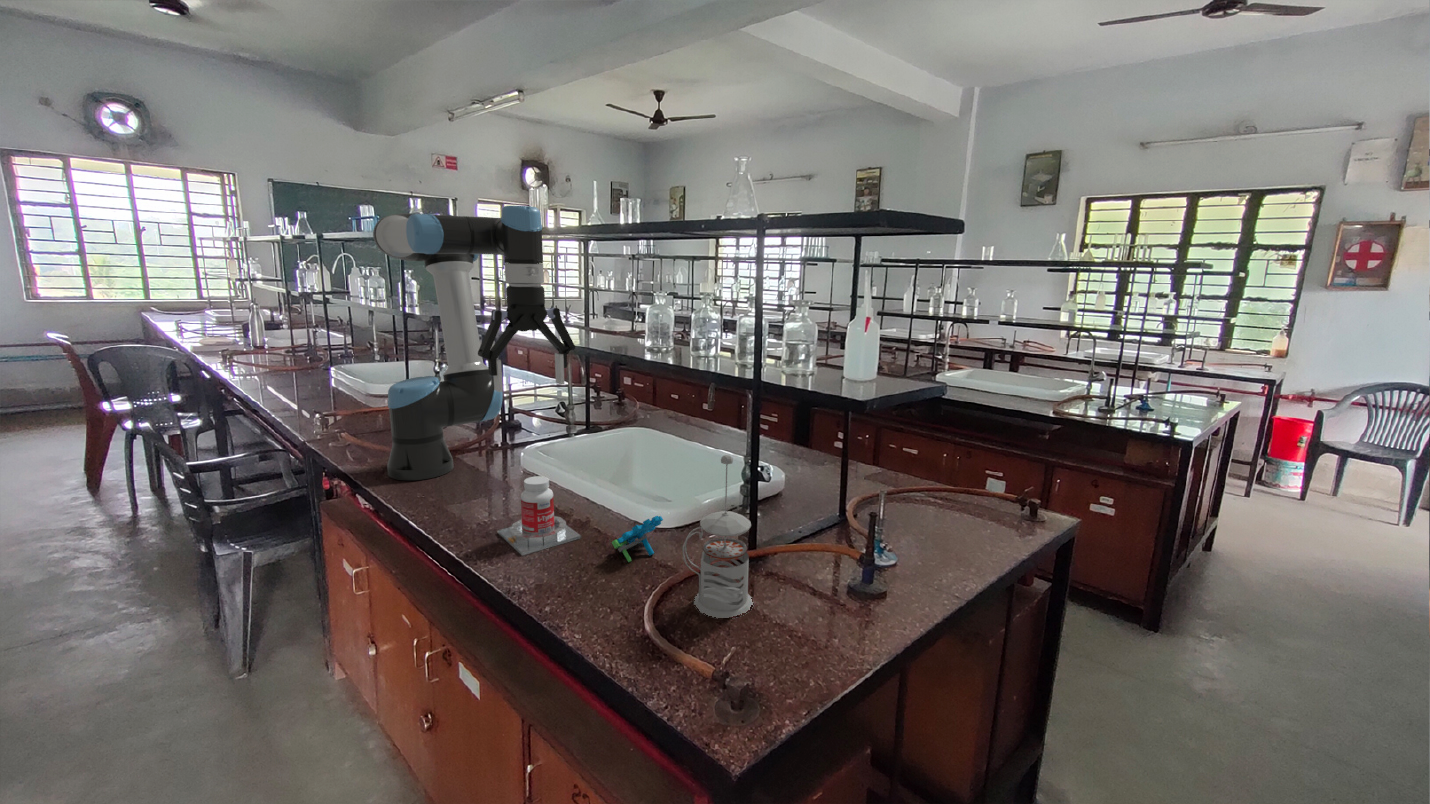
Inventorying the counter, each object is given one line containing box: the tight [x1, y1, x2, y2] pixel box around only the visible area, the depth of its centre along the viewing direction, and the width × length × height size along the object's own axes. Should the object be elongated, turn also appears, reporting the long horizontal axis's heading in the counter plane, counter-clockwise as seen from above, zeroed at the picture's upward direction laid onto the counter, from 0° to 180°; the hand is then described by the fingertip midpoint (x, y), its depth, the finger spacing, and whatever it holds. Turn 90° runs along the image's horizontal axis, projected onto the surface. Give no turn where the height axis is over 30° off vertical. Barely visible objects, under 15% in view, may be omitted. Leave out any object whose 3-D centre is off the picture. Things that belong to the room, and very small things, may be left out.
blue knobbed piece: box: [611, 515, 664, 563], centre depth 117 cm, size 11×6×10 cm
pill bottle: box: [520, 475, 555, 535], centre depth 122 cm, size 6×6×11 cm
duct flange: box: [497, 515, 582, 557], centre depth 123 cm, size 12×12×2 cm
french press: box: [682, 454, 754, 619], centre depth 99 cm, size 10×12×25 cm
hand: (530, 387), depth 132 cm, fingers open, 13 cm apart
